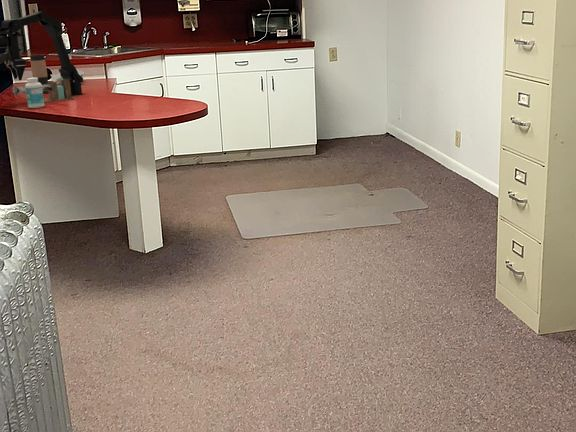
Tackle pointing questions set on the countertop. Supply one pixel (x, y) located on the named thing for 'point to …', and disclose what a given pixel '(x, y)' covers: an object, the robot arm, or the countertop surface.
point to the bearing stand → (54, 91)
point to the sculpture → (58, 78)
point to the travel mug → (39, 69)
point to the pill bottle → (34, 93)
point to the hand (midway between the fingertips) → (17, 79)
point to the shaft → (22, 89)
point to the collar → (60, 92)
